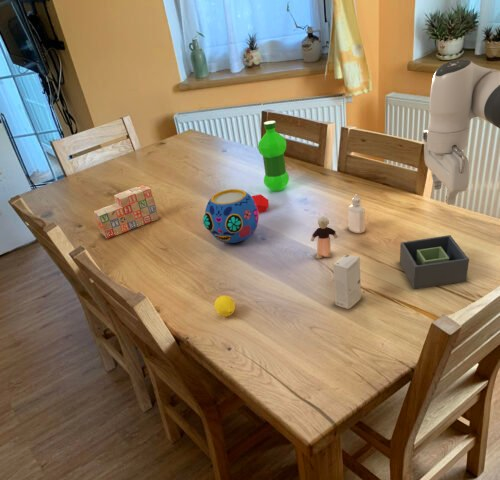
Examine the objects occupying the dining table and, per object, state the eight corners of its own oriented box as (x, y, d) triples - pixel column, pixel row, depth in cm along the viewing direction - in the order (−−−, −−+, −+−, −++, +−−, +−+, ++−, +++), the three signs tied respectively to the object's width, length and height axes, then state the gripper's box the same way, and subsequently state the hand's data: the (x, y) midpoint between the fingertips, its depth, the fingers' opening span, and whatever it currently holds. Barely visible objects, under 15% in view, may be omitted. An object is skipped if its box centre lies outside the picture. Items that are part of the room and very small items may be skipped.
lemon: (212, 311, 134) (208, 295, 131) (230, 304, 136) (227, 288, 132) (222, 324, 129) (218, 307, 126) (241, 316, 130) (238, 300, 127)
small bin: (439, 262, 135) (441, 246, 132) (447, 274, 130) (449, 258, 127) (415, 266, 136) (416, 249, 133) (423, 278, 131) (424, 261, 128)
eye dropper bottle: (352, 235, 156) (351, 199, 149) (347, 227, 160) (346, 192, 153) (365, 232, 156) (365, 196, 149) (361, 225, 160) (360, 189, 153)
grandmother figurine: (314, 261, 147) (311, 222, 139) (311, 255, 150) (308, 216, 142) (339, 255, 147) (338, 216, 140) (336, 250, 150) (334, 211, 143)
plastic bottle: (292, 182, 197) (285, 116, 182) (287, 193, 189) (280, 125, 174) (267, 183, 200) (259, 119, 184) (262, 194, 192) (253, 128, 176)
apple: (272, 192, 179) (250, 186, 178) (270, 203, 174) (247, 198, 174) (268, 207, 184) (247, 202, 184) (265, 218, 180) (244, 213, 179)
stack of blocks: (107, 239, 181) (95, 208, 173) (101, 234, 185) (90, 203, 178) (159, 218, 189) (150, 187, 181) (152, 214, 193) (143, 183, 185)
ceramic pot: (200, 249, 164) (190, 207, 155) (225, 224, 176) (217, 184, 167) (248, 254, 157) (240, 210, 147) (270, 228, 168) (264, 185, 159)
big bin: (447, 256, 138) (450, 234, 134) (466, 281, 128) (469, 259, 124) (399, 263, 139) (400, 242, 135) (413, 289, 129) (415, 267, 125)
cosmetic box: (349, 310, 126) (348, 269, 118) (334, 305, 128) (332, 264, 121) (361, 297, 129) (361, 257, 122) (347, 293, 132) (345, 253, 124)
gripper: (479, 151, 107) (472, 210, 115) (445, 124, 123) (442, 178, 131) (449, 156, 107) (445, 215, 116) (420, 129, 123) (418, 182, 132)
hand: (443, 195), depth 124 cm, fingers open, 8 cm apart
